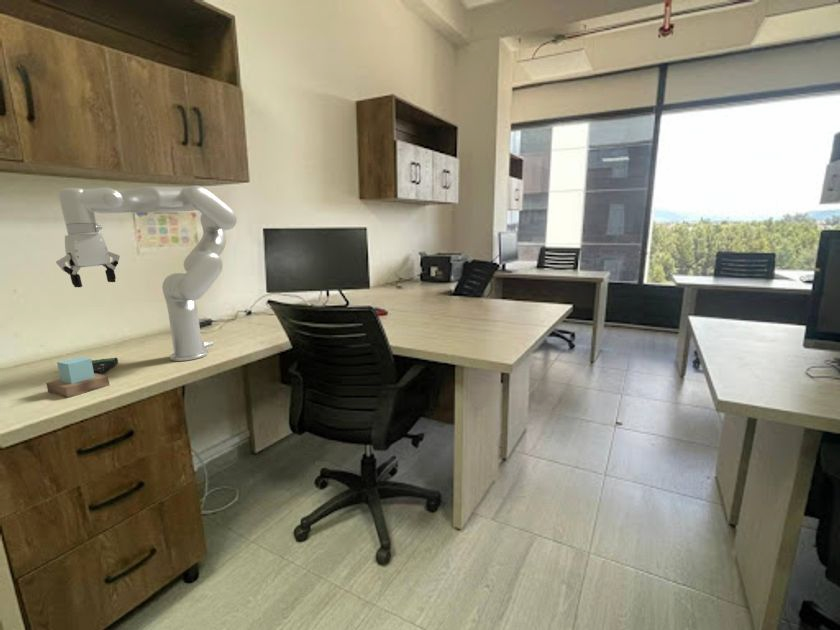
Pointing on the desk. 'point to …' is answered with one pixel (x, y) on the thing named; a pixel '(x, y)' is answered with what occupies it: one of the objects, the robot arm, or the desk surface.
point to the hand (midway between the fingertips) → (95, 284)
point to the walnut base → (77, 386)
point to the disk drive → (103, 365)
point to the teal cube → (75, 370)
